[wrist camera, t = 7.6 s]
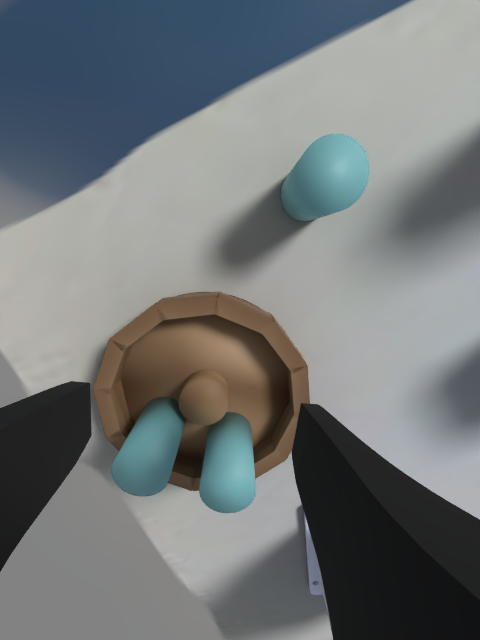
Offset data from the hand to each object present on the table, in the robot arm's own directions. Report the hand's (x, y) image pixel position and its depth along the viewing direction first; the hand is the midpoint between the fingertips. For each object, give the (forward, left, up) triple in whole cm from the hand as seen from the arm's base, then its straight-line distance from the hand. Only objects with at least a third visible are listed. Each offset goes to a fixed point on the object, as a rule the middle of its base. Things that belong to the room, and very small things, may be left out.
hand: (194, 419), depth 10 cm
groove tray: (-4, +1, -10) cm, 10 cm away
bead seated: (-7, 0, -9) cm, 11 cm away
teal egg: (+8, -6, -10) cm, 14 cm away
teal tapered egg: (-5, +4, -9) cm, 11 cm away
